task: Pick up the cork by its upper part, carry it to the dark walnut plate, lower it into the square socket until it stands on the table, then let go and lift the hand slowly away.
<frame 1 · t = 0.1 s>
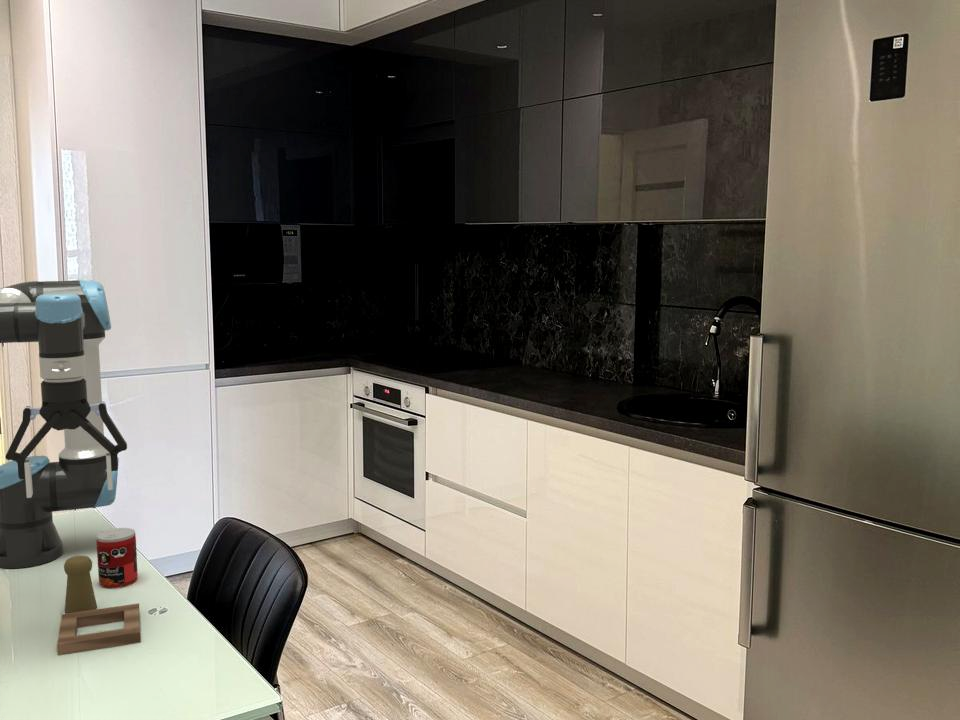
hand: (70, 492, 164), 28 cm above the table, tool pointing down, fingers open, 13 cm apart
canned food: (118, 582, 193), on the table
socket plate: (100, 632, 168), on the table
cork: (81, 610, 178), on the table
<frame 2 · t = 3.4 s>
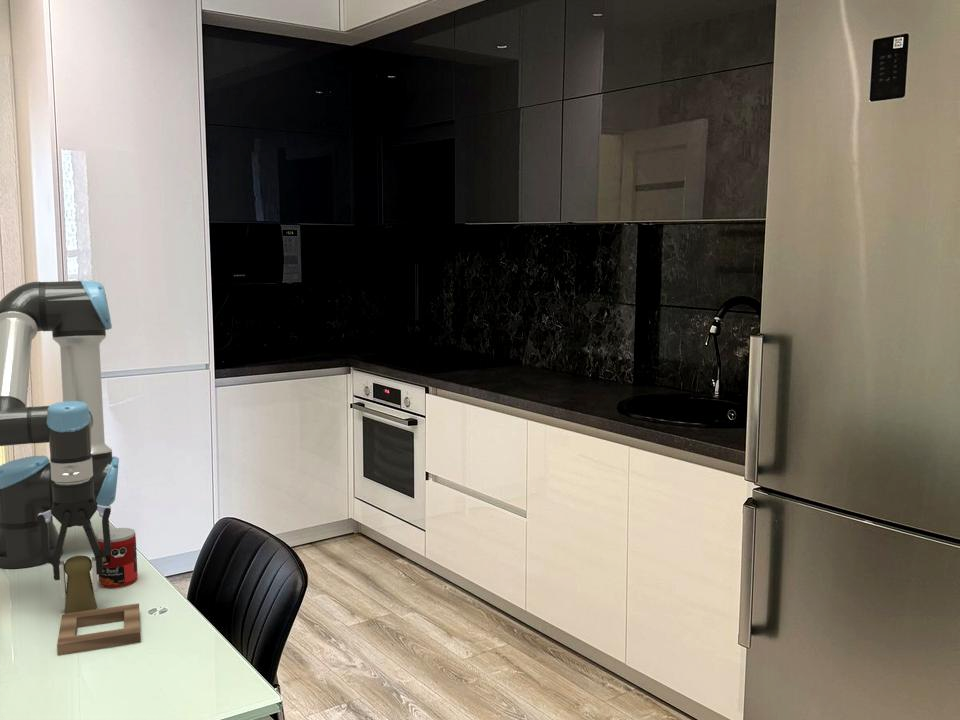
hand: (79, 591, 178), 4 cm above the table, tool pointing down, fingers closed on cork, 5 cm apart
cork: (80, 610, 178), on the table, touching gripper
everything else where it was.
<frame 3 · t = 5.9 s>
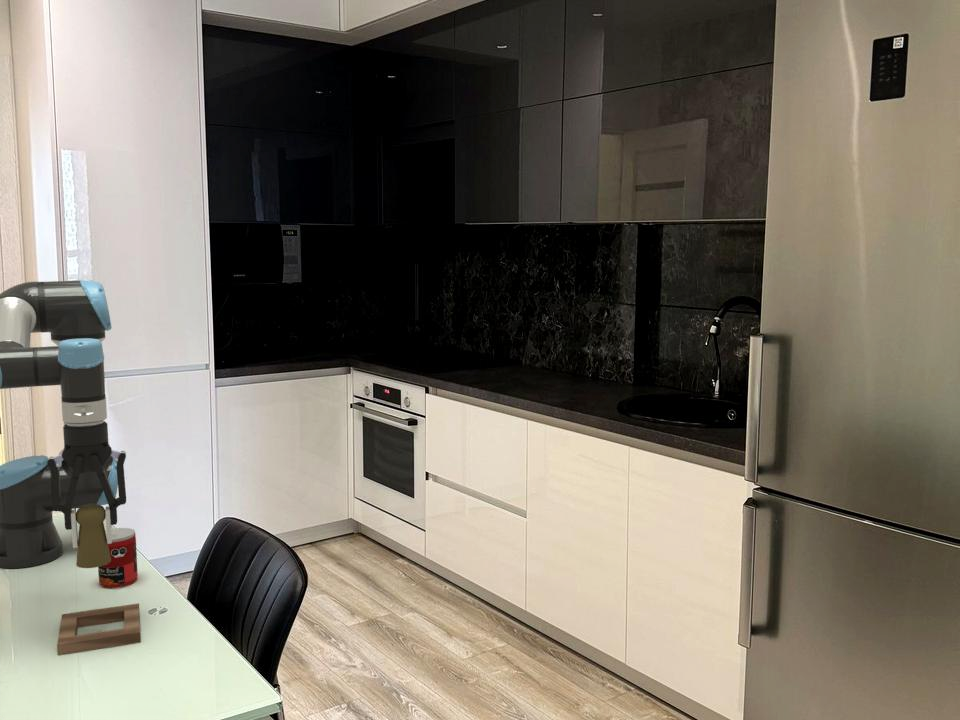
hand: (92, 543, 166), 17 cm above the table, tool pointing down, fingers closed on cork, 5 cm apart
cork: (93, 563, 167), point 14 cm above the table, touching gripper
everything else where it was.
when the fingers open (4 cm above the table, at t = 8.6 s): cork stays where it is, resting in socket plate.
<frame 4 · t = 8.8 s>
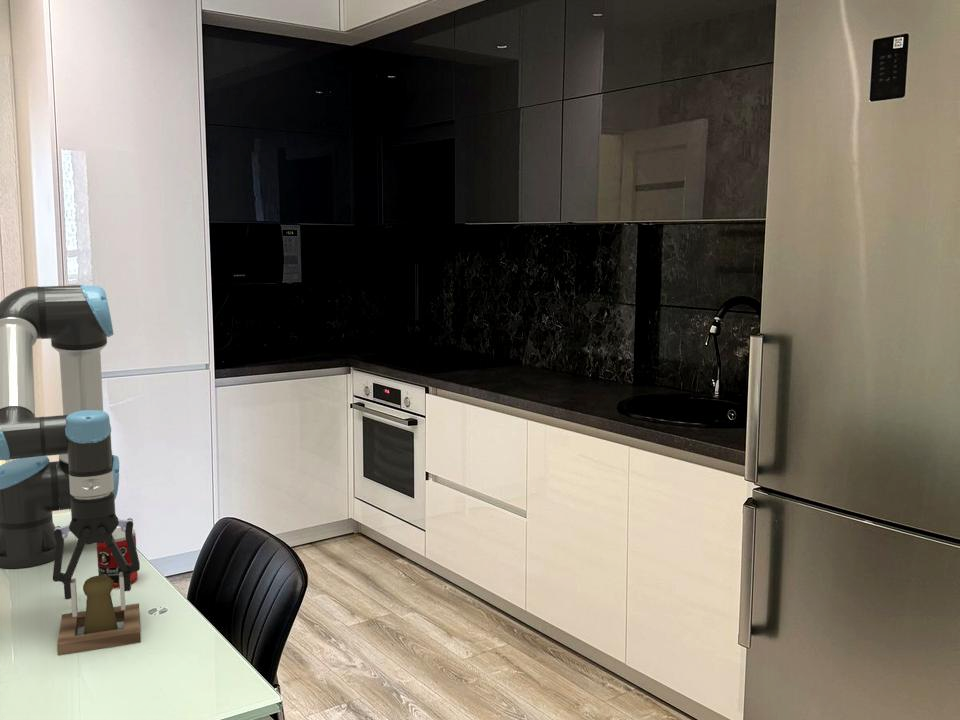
hand: (99, 610, 167), 4 cm above the table, tool pointing down, fingers open, 8 cm apart
cork: (101, 633, 168), resting in socket plate
everything else where it was.
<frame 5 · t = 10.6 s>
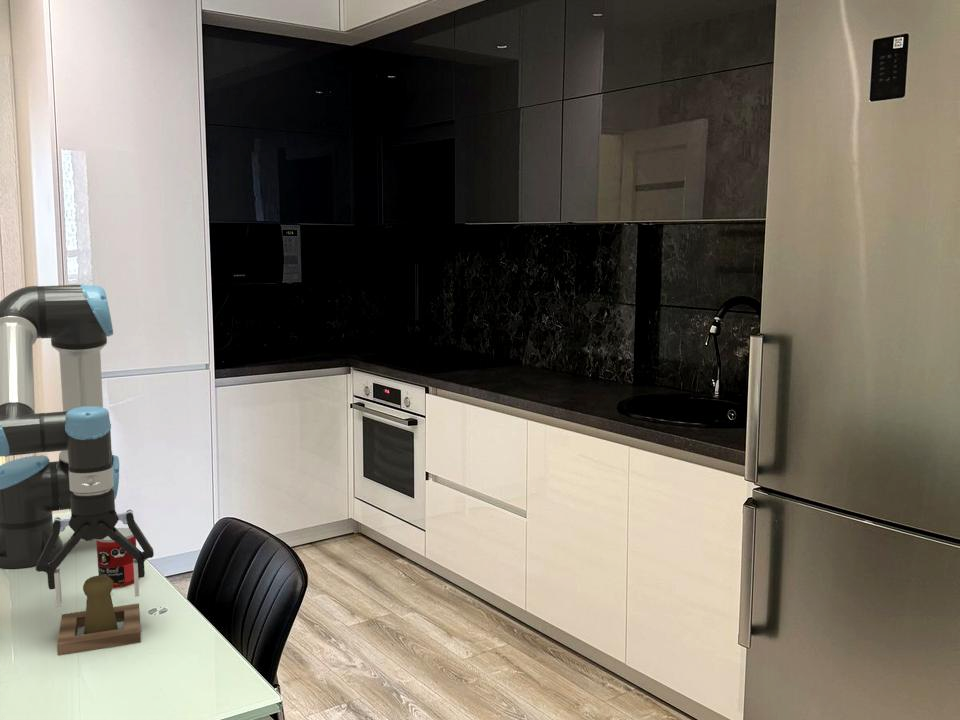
hand: (98, 599, 167), 7 cm above the table, tool pointing down, fingers open, 13 cm apart
nothing on the table moved.
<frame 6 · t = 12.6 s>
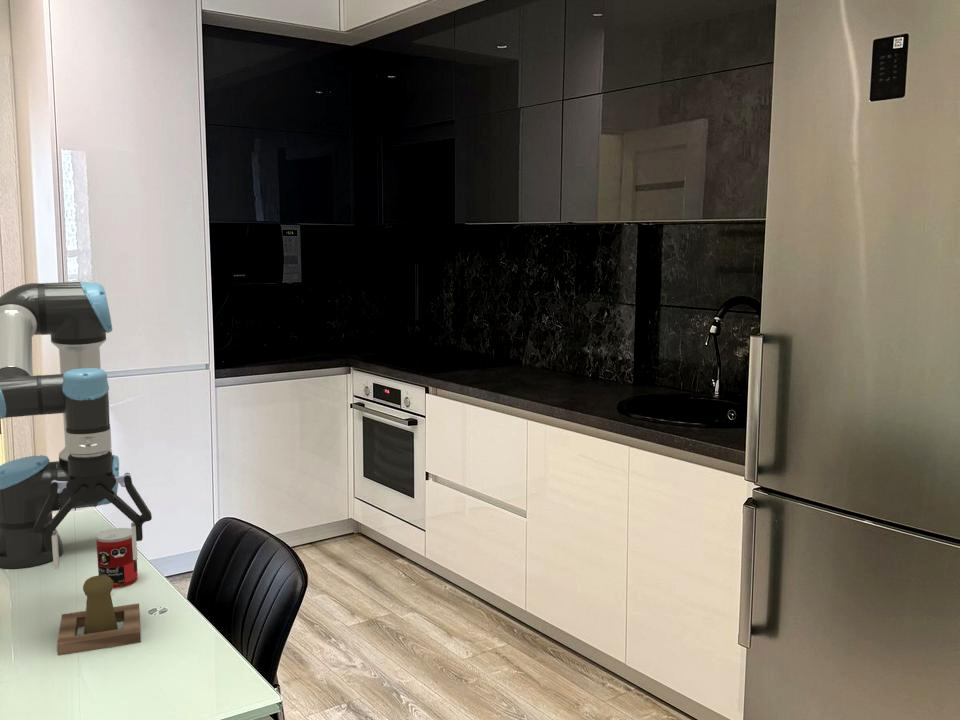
hand: (96, 562, 166), 14 cm above the table, tool pointing down, fingers open, 13 cm apart
nothing on the table moved.
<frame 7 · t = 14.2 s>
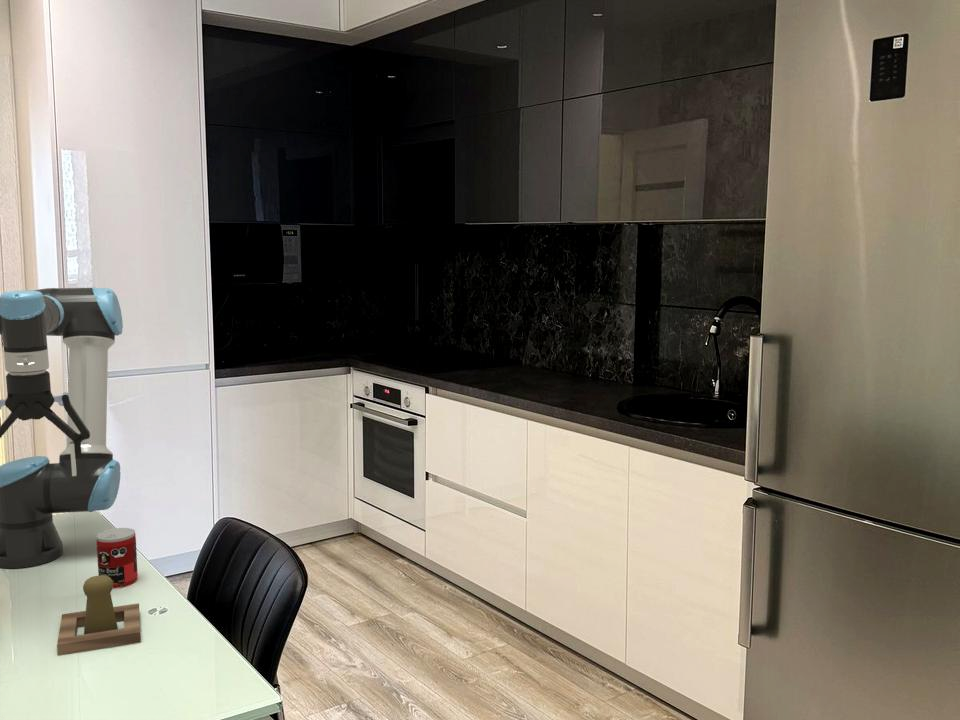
hand: (36, 478, 173), 28 cm above the table, tool pointing down, fingers open, 13 cm apart
nothing on the table moved.
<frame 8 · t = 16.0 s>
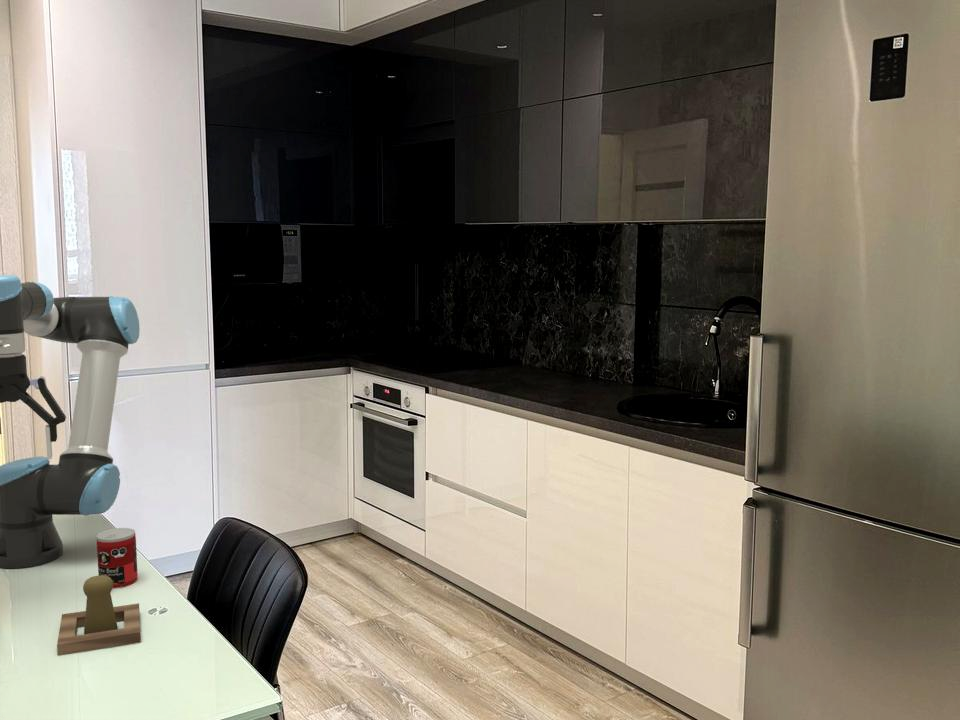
hand: (11, 461, 175), 31 cm above the table, tool pointing down, fingers open, 13 cm apart
nothing on the table moved.
at the end: cork 0.1 cm off-centre on the socket plate, point 0.0 cm above the socket plate's base; cork tilted 0°; the gripper is holding nothing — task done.
